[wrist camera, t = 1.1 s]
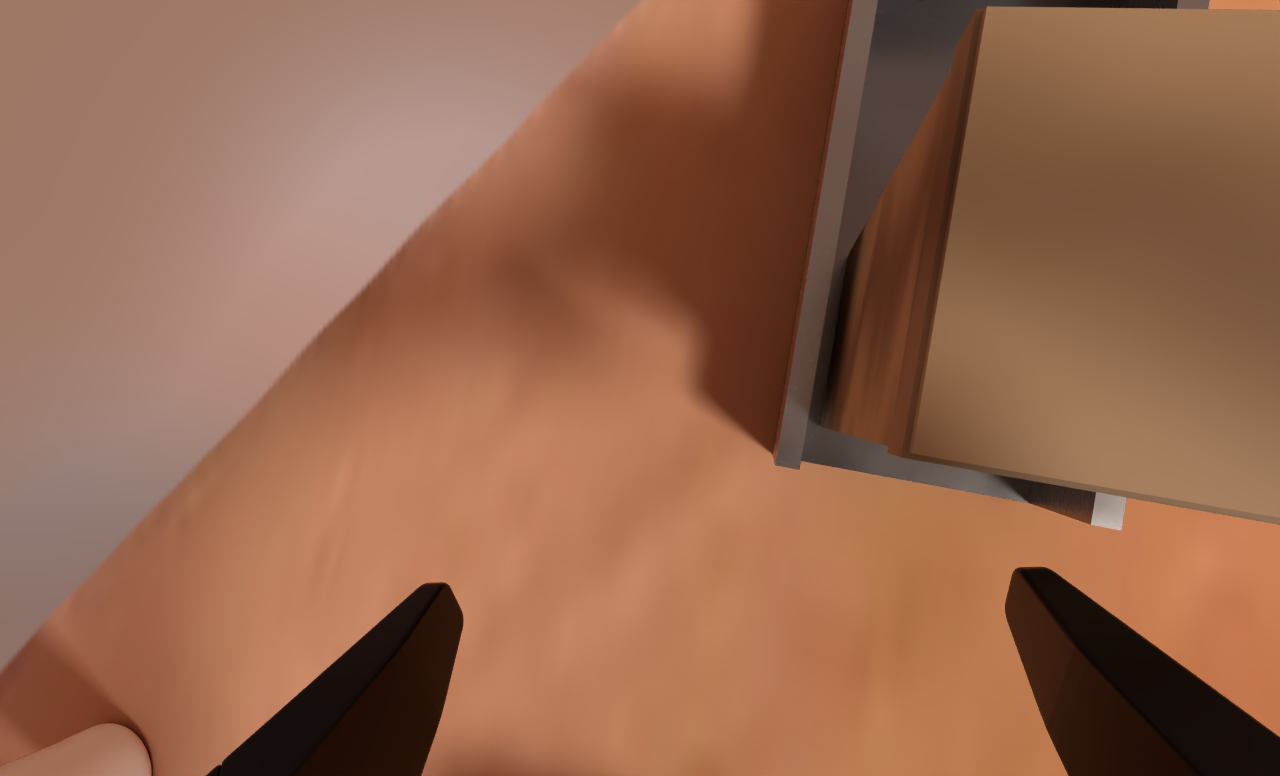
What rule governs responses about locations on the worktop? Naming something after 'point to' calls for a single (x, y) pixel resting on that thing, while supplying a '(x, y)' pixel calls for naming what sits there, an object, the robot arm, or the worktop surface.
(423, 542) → the worktop surface
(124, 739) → the drinking glass
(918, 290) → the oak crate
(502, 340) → the worktop surface
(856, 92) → the metal bay
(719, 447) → the worktop surface
